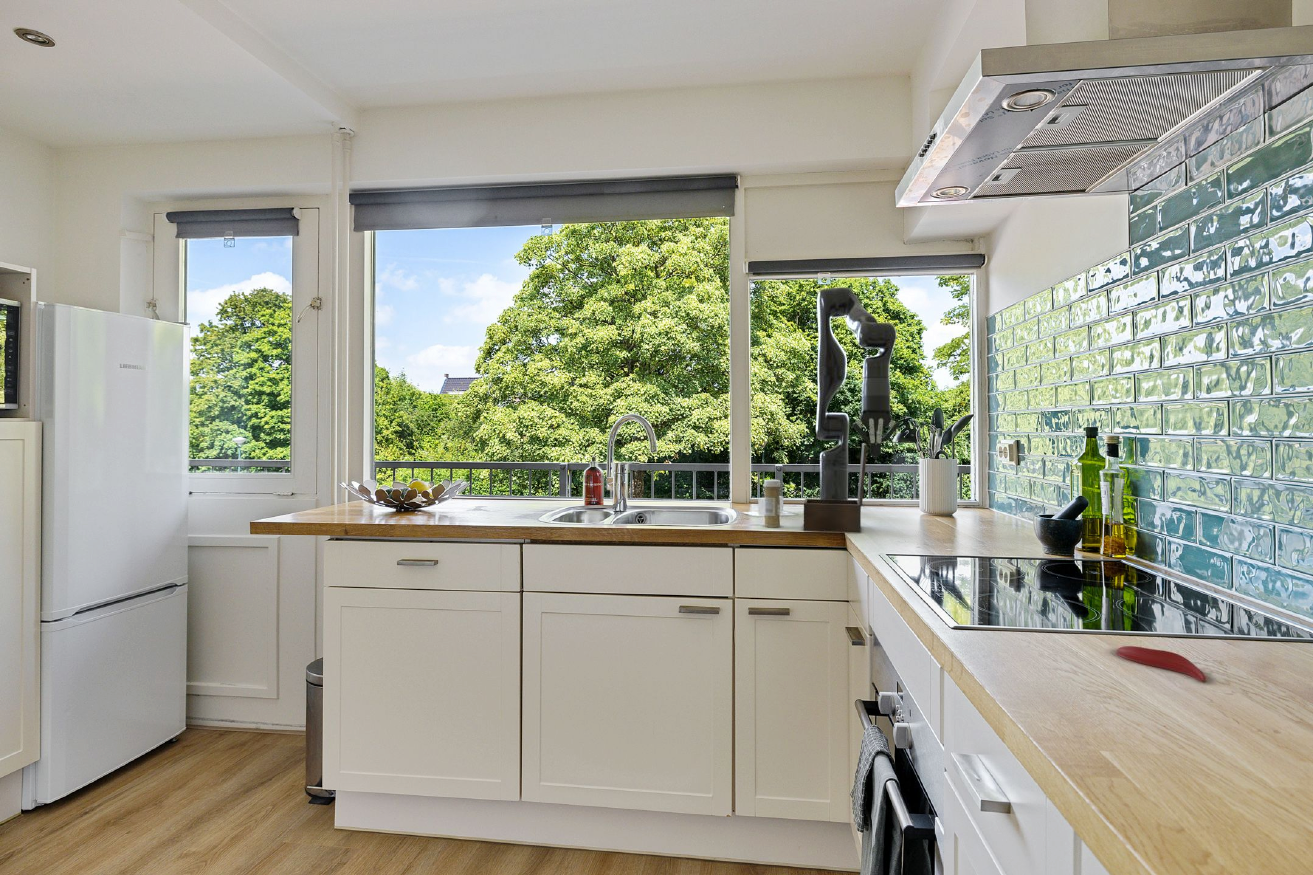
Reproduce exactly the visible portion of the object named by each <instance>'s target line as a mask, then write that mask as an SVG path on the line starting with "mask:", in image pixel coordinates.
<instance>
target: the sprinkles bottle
mask: <svg viewBox="0 0 1313 875" xmlns="http://www.w3.org/2000/svg"><path fill="white" fill-rule="evenodd" d="M763 484H764V497H765V516H764V526H765V527H766V528H779V527H780V526H781V520H780V518H781V516H780V496H781V495H780V494H781V492H780V491H781V490H780V488H781V480H780V479H765V480H764V481H763Z"/></svg>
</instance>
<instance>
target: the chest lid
mask: <svg viewBox="0 0 1313 875" xmlns="http://www.w3.org/2000/svg"><path fill="white" fill-rule="evenodd" d="M867 452H868V444H866V443H861V453H860V465H859V476H858V477H859V478H858V490H857V500H858V501H859V503H862V504H863V498H864V488H865V476H866V464H867V454H868V453H867Z"/></svg>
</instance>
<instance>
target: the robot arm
mask: <svg viewBox="0 0 1313 875" xmlns="http://www.w3.org/2000/svg"><path fill="white" fill-rule="evenodd" d="M816 315H817V316H816V318H817V334H818V336H817V337H818V338H817V340H818V342H817V344H818V346H817V369H816V370H817V372H816V374H817V404H816V405H817V406H816V415H815V416H816V418H815V435H816V438H817V439H818V440H819V441H838V443H837V444H836V445H835V446H833V447H832V448H828V449H826V450H823V451H821V452H820V453H819V499H833V500H849V437H850V436H849V435H850V417H849V415H848V414H847V413H846V412H827V410H828V407H829V405H830V403H831V401H832V399H833V397H834V396H835V395H836V393H837V392H838V390H839V389H840V388H841V386H842V385H843V383H844V382H845V381H846V377H847V366H848V365H847V362H848V361H847V360H848V359H847V355H846V352H845V350H844V348H843V347H842V346H841V345H840V343H839V341H838V339H836V337H835V335H834V333H833V330H832V327H831V326H832V325H831V319H836V318H844V317H845V324H846V326H847V328H848V329H849V330H850V331H851V332H852V333H853V334H854V336H855V338H856V342H857V344H858V346H860V347H862V348H865V349H878V350H879V351H877V352H878V353H877V354H876V355H873V356H868V357H866V358H864V360H863V363H862V384H861V414H860V416H859V420H857V421H856V422H854V423H853V424H852V427H853V428H854V430H855V431H856V432H857V433H858V435H859V436H860V437H861V438H862V440H863V441H864V442H867V443H869V453H870V455H871V456H872V458H879V456H881V455H882V444H883V443H885V442H888V441H889V439H890V438H891V437H892V436H893V435H894V433H895V432H896V431H897V430H898V428H899V427H900V424H899V423H898V422H896V421H894V420H893V417H892V415H891V384H890V383H891V381H890V363H891V358H892V355H893V351H894V347H895V344H896V341H897V330H896V327H895V326H894V325H893V324H892V323H889V322H878V320H877V319H876V318H875V316H874V315H873V314H871V313H870V312H868V311H867V310H866V309H865V308H864V306H863V305H862V304H861V302H860V300H859V298H858V297H857V296H856V294H855V293H854V291H853V290H852V289H850V288H849V287H846V286H845V287H843V286H842V287H833V288H832V287H831V288H822V289H820V290H819V291H818V293H817V296H816ZM888 425H889V430H888V431H887V432H886V434H885V435H884V436H883V431H884V430H886V428H887V427H888ZM863 426H864V427H865V429H866V430H867V431H868V433H869V436H867V435H866V433H865V432H864V431H863V430H862V428H863ZM875 433H876V436H875ZM860 505H861V506H862V505H863V502H862V503H860Z"/></svg>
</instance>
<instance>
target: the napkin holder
mask: <svg viewBox="0 0 1313 875" xmlns="http://www.w3.org/2000/svg"><path fill="white" fill-rule="evenodd" d="M757 500H758V502H757V506H758V507H757V510H758V511H743V512H742V511H741V513H742V514H744V515H745V514H746V515H749V516H752V517H765V496H764V497H761V498H758V499H757ZM781 516H796V514H795V513H792V512H788V511H784V496H783V495H780V517H781Z"/></svg>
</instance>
